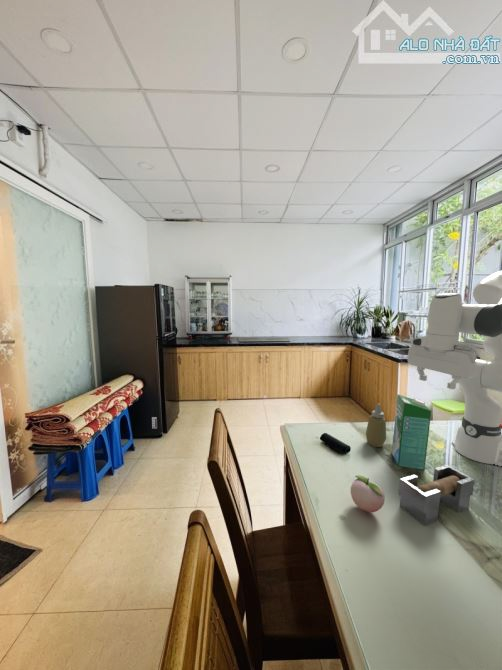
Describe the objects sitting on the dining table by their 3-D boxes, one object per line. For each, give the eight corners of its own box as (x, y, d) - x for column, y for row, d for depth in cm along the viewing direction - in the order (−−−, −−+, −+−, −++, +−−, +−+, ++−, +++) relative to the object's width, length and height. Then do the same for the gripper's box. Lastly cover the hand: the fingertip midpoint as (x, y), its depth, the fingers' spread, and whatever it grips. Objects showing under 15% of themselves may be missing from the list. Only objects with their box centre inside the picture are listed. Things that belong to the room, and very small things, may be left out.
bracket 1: (411, 501, 84) (414, 474, 83) (437, 520, 77) (440, 491, 75) (397, 506, 82) (400, 478, 81) (422, 526, 74) (425, 496, 73)
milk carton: (424, 469, 100) (432, 404, 97) (397, 465, 102) (404, 401, 99) (416, 456, 109) (422, 396, 106) (391, 453, 111) (397, 393, 108)
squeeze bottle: (386, 442, 119) (390, 403, 117) (384, 451, 112) (388, 409, 110) (366, 437, 123) (370, 399, 121) (363, 445, 116) (366, 404, 114)
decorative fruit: (342, 506, 81) (345, 475, 80) (358, 495, 86) (360, 465, 85) (373, 528, 73) (376, 494, 72) (387, 514, 78) (391, 482, 77)
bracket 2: (457, 512, 80) (461, 484, 79) (431, 494, 87) (434, 468, 86) (470, 507, 82) (474, 479, 81) (443, 490, 89) (447, 464, 88)
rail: (456, 491, 84) (446, 478, 87) (465, 487, 81) (455, 473, 84) (417, 505, 78) (407, 490, 80) (426, 501, 75) (416, 485, 78)
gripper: (483, 348, 80) (477, 393, 82) (418, 338, 99) (415, 375, 101) (470, 348, 78) (464, 395, 80) (406, 339, 97) (402, 376, 99)
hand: (436, 384), depth 91 cm, fingers open, 8 cm apart
